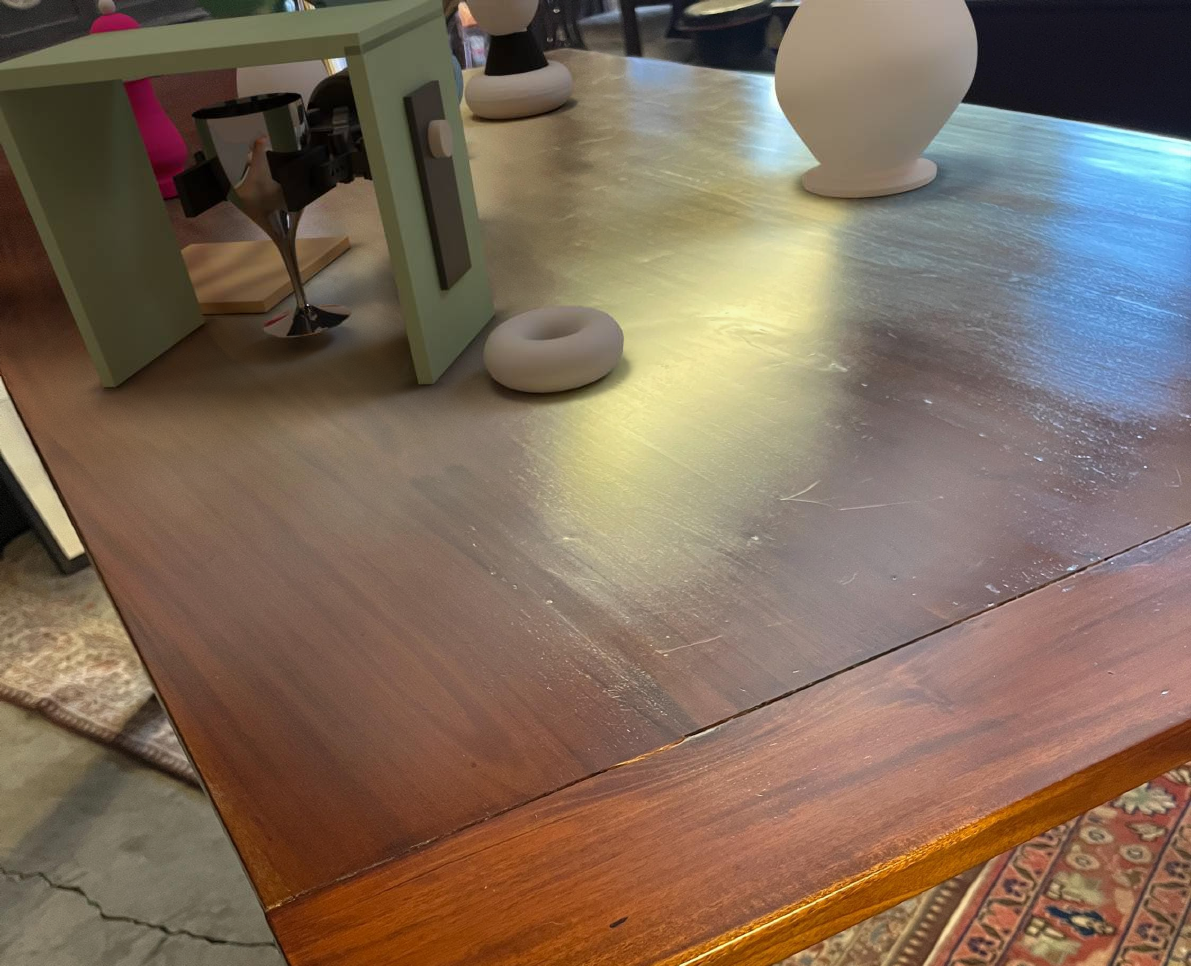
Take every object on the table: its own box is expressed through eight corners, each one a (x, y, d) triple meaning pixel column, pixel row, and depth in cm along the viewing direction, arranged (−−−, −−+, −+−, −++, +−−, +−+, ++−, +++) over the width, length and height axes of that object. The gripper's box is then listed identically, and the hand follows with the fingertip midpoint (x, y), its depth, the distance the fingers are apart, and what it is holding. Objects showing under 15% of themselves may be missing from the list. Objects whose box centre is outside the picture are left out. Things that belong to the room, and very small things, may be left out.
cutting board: (94, 317, 101) (89, 306, 100) (194, 254, 113) (191, 243, 113) (266, 312, 96) (262, 300, 95) (350, 246, 109) (348, 236, 108)
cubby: (103, 387, 87) (-30, 72, 72) (193, 322, 96) (92, 33, 82) (452, 384, 79) (380, 29, 64) (512, 313, 88) (461, -8, 74)
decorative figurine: (586, 93, 153) (567, -89, 140) (560, 118, 143) (537, -76, 130) (486, 102, 157) (458, -75, 144) (453, 126, 147) (421, -61, 133)
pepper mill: (175, 200, 133) (107, -1, 120) (128, 201, 135) (57, 5, 122) (210, 183, 138) (149, -12, 124) (164, 185, 140) (99, -6, 127)
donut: (469, 371, 81) (517, 413, 73) (460, 323, 78) (508, 361, 71) (592, 337, 83) (650, 374, 76) (587, 289, 81) (646, 322, 73)
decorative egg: (359, 137, 149) (329, 2, 139) (327, 160, 140) (293, 18, 130) (276, 144, 151) (241, 13, 141) (240, 168, 143) (200, 29, 133)
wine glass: (356, 296, 91) (303, 87, 81) (356, 328, 85) (299, 106, 75) (261, 313, 91) (197, 104, 81) (255, 346, 85) (184, 125, 75)
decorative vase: (812, 218, 98) (818, -148, 81) (751, 174, 111) (746, -147, 95) (999, 183, 99) (1043, -183, 83) (917, 144, 113) (941, -178, 96)
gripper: (485, 159, 93) (379, 244, 78) (272, 173, 99) (133, 255, 83) (468, 55, 88) (351, 123, 73) (245, 76, 94) (91, 144, 78)
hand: (234, 194), depth 78 cm, fingers closed on wine glass, 8 cm apart
